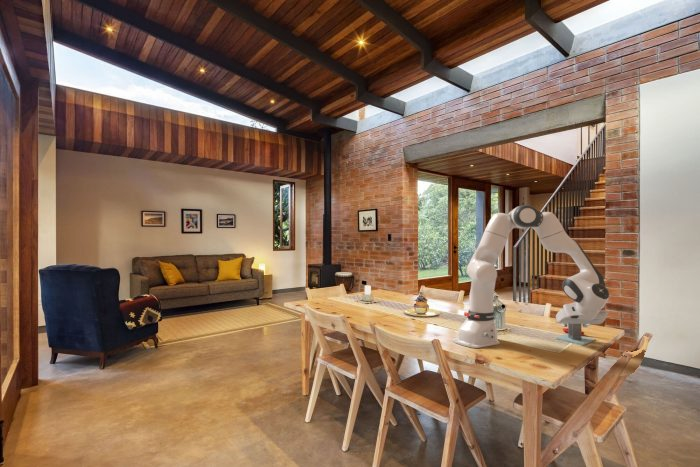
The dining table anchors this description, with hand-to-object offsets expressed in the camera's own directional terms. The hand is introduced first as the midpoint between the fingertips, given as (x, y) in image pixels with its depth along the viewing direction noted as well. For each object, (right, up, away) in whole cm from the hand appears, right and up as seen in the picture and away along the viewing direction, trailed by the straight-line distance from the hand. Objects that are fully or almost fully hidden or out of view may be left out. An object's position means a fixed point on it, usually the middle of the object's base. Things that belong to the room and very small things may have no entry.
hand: (574, 325), depth 169 cm
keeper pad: (0, -7, 0) cm, 7 cm away
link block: (0, -6, -1) cm, 6 cm away
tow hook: (+6, -6, +11) cm, 14 cm away
